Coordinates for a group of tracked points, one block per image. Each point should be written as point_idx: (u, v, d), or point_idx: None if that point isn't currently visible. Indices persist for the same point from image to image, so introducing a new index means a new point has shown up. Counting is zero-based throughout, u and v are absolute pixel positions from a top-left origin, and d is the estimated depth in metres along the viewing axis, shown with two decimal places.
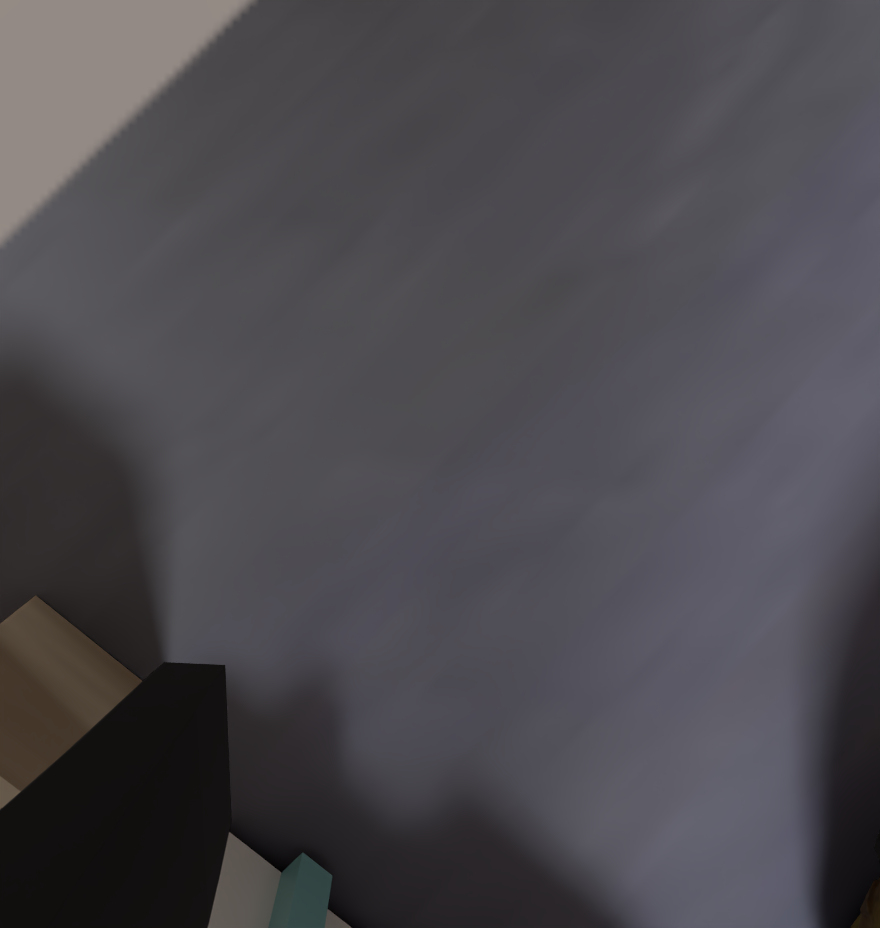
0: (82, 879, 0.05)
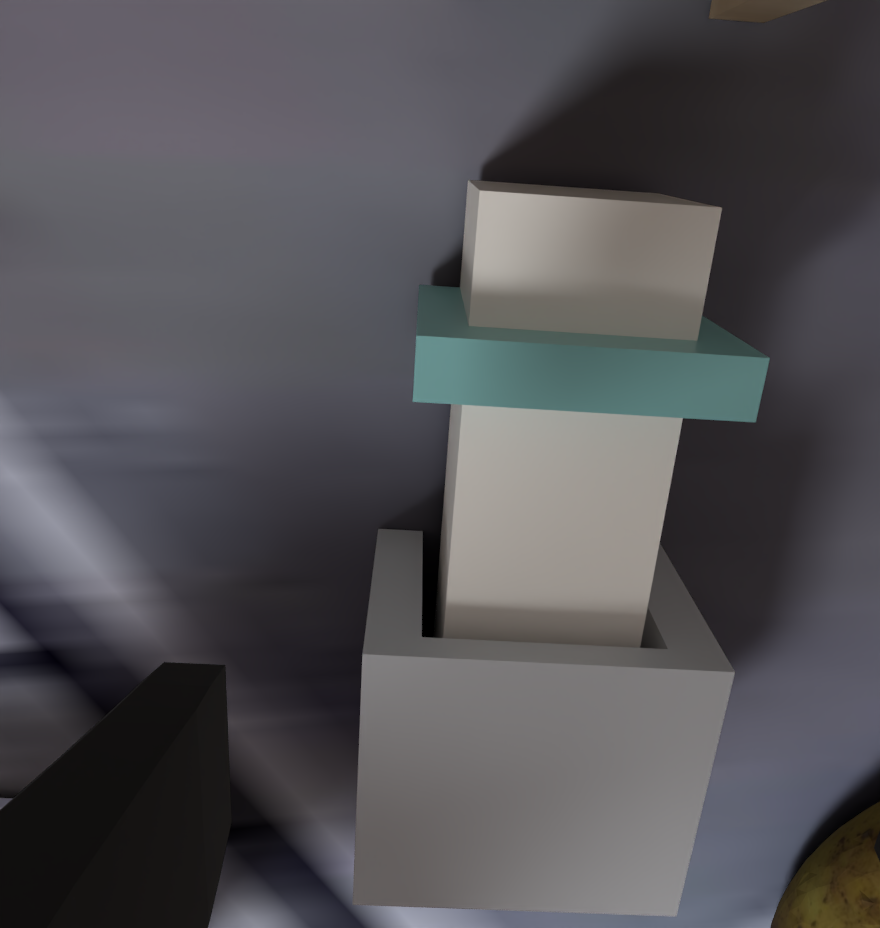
0: (82, 879, 0.05)
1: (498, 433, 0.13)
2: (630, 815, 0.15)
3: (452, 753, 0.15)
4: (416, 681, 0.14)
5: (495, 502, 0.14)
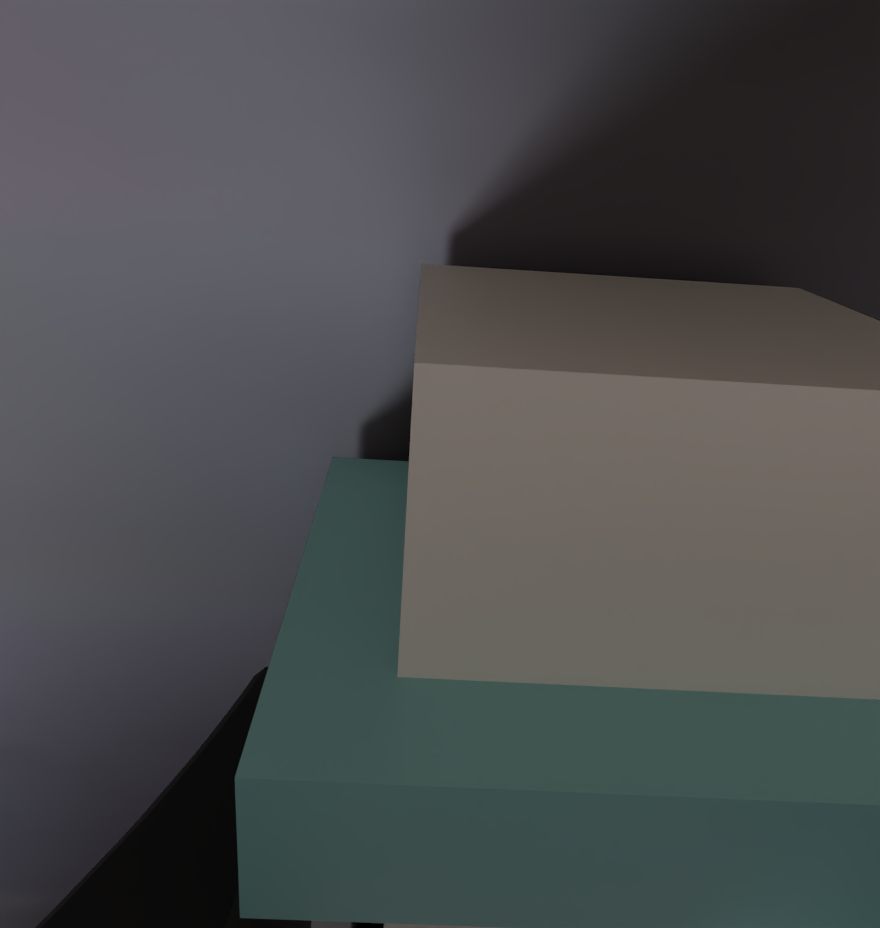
0: None
1: None
2: None
3: None
4: None
5: None
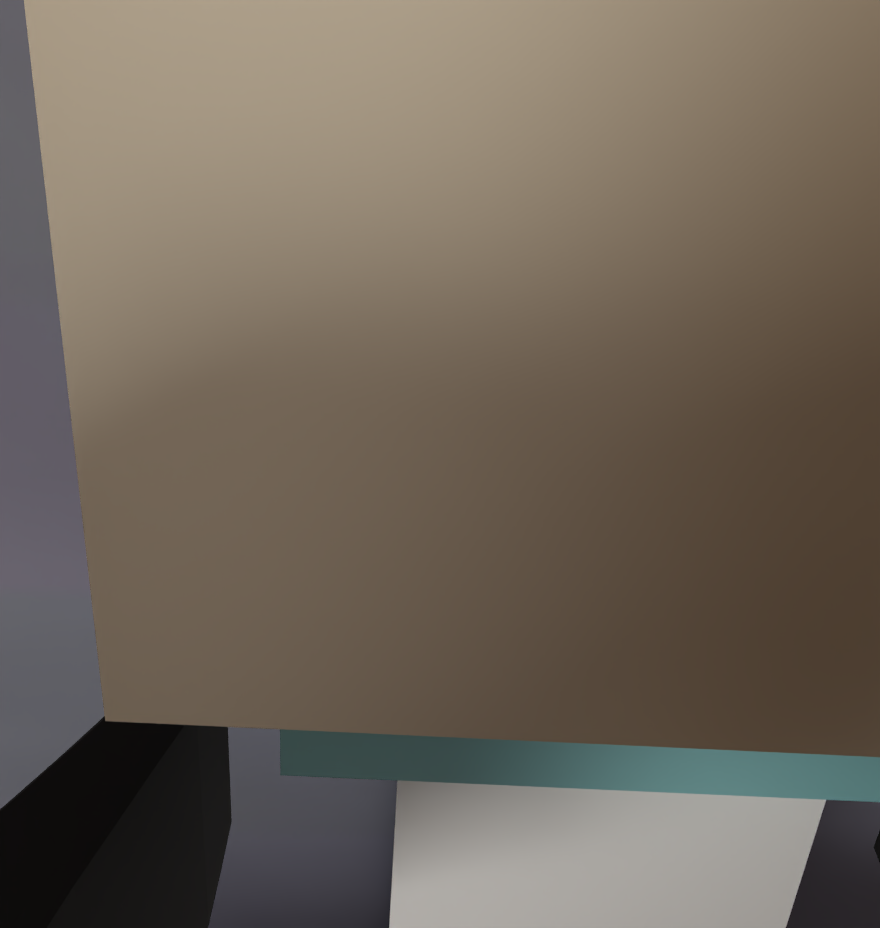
0: (82, 879, 0.05)
1: None
2: None
3: None
4: None
5: (470, 881, 0.07)
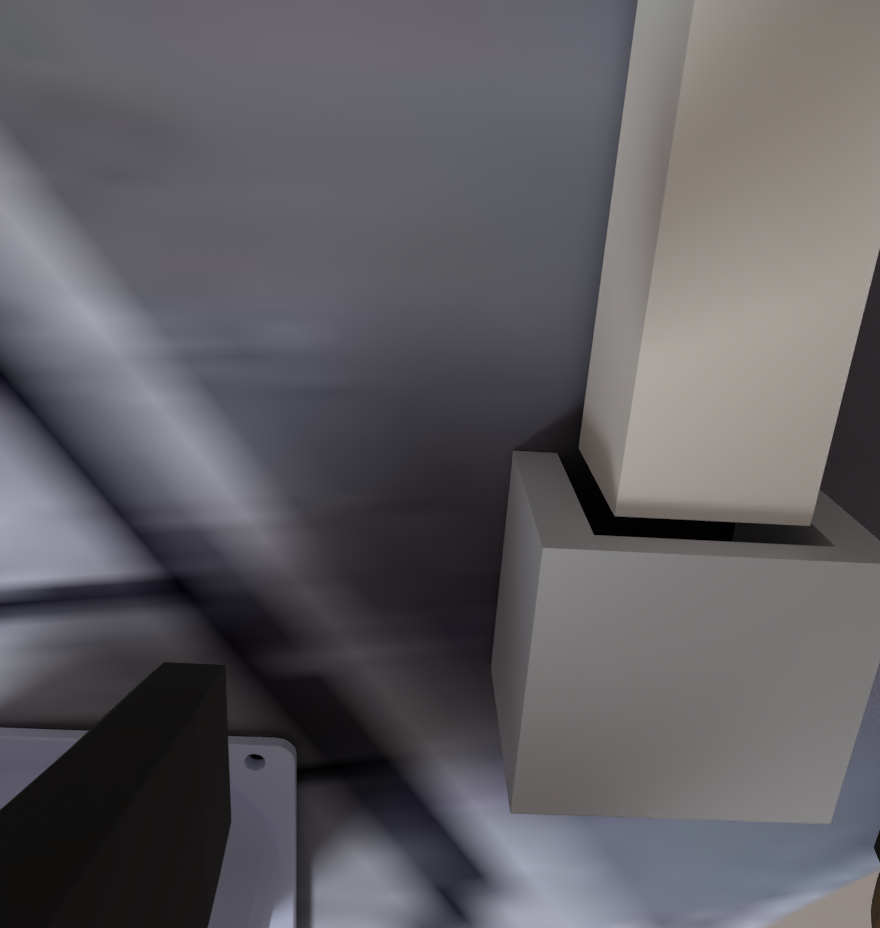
0: (82, 879, 0.05)
1: None
2: (793, 717, 0.15)
3: (623, 652, 0.15)
4: (593, 576, 0.14)
5: (726, 90, 0.12)
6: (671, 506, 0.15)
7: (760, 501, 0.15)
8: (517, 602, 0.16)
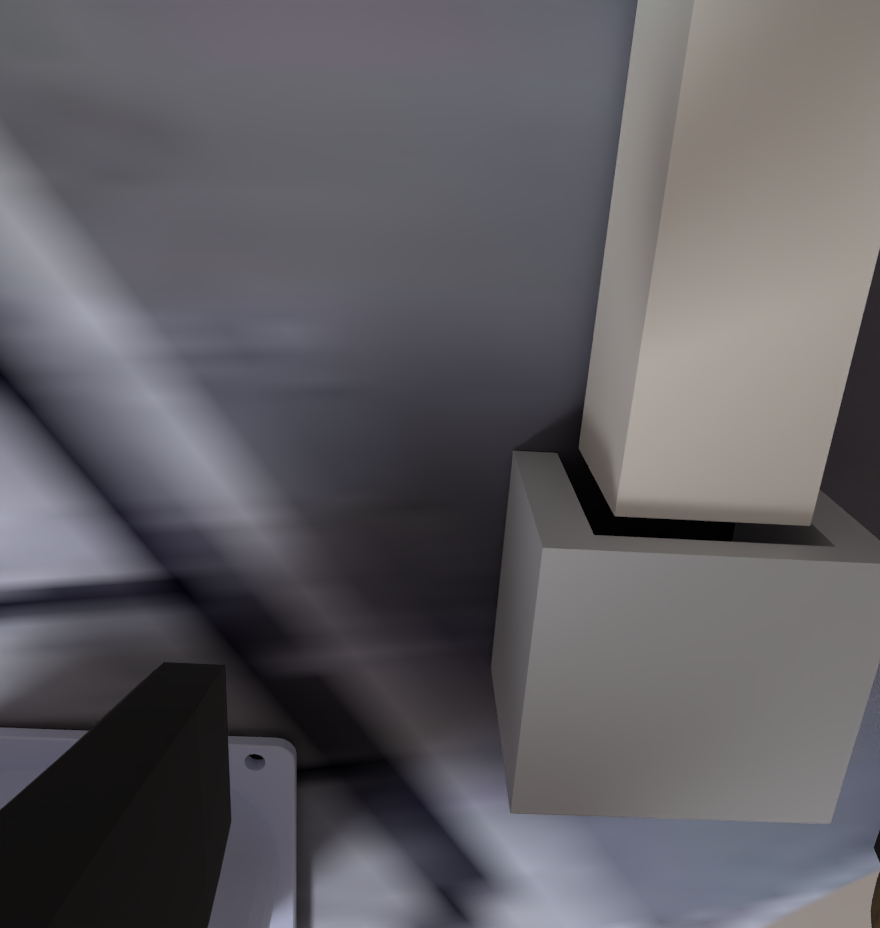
0: (82, 879, 0.05)
1: None
2: (793, 717, 0.15)
3: (623, 652, 0.15)
4: (593, 576, 0.14)
5: (726, 90, 0.12)
6: (671, 506, 0.15)
7: (760, 501, 0.15)
8: (517, 602, 0.16)
